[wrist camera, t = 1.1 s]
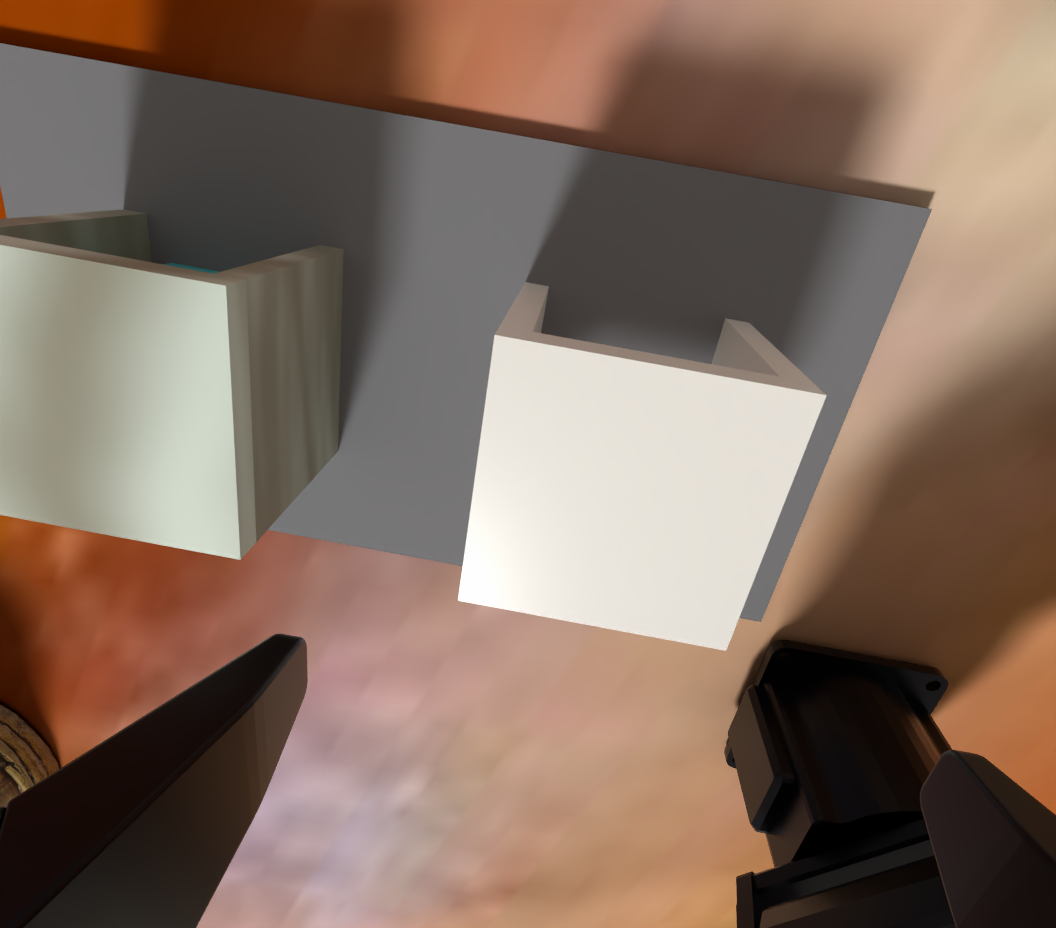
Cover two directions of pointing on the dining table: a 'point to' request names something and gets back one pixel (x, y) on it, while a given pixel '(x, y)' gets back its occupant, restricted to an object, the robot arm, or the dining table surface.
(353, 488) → the mat
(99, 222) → the cover
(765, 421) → the cover
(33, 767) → the wooden mug
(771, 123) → the dining table surface
